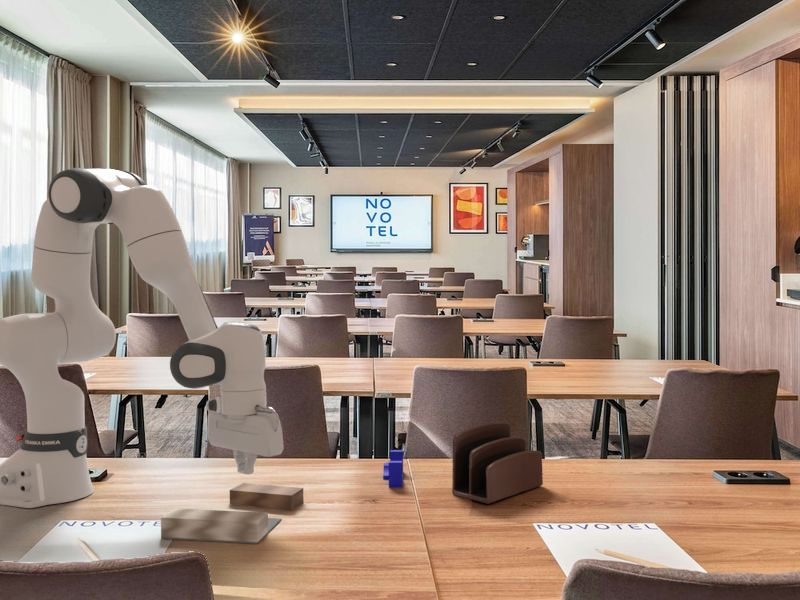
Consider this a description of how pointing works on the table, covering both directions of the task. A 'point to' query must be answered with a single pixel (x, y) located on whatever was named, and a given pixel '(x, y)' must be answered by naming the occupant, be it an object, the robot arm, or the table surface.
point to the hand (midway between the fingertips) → (245, 473)
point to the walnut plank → (267, 496)
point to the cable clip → (394, 469)
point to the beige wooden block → (214, 525)
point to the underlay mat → (271, 524)
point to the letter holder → (493, 464)
